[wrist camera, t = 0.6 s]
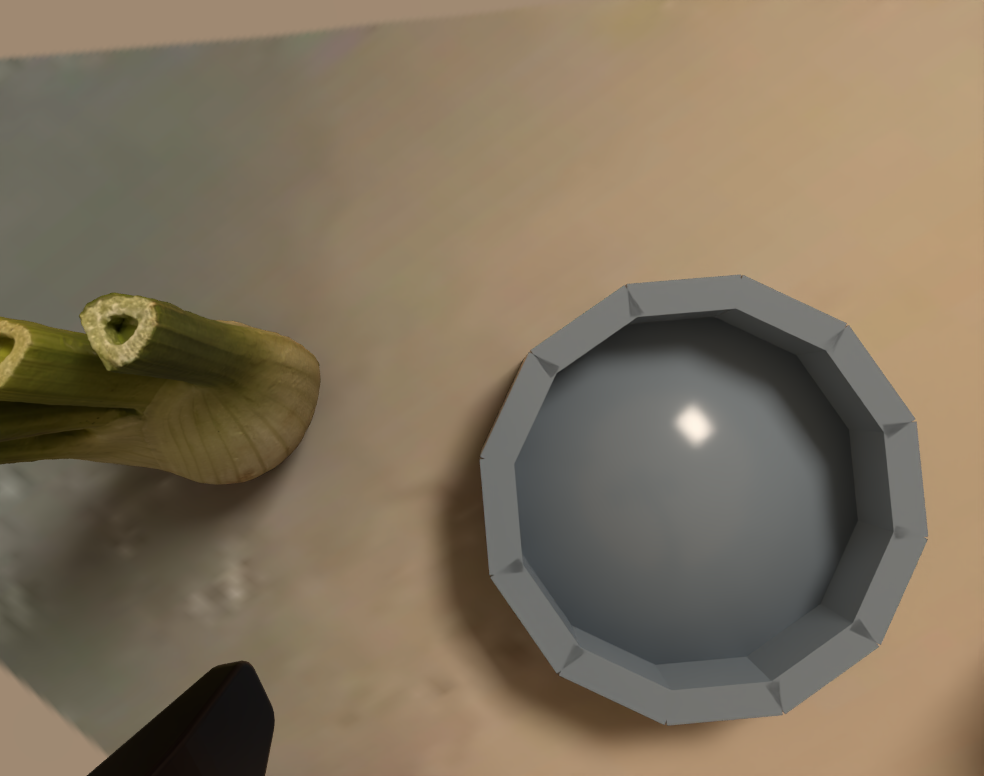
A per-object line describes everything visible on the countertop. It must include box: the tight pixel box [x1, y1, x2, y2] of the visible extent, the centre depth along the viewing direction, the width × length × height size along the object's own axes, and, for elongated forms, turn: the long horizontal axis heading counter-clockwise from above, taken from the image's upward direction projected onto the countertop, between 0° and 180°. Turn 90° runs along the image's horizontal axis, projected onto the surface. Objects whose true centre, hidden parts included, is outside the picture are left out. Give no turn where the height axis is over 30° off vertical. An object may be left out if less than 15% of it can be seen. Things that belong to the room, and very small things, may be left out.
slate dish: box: [480, 275, 928, 726], centre depth 20 cm, size 13×13×3 cm
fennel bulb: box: [0, 293, 320, 485], centre depth 15 cm, size 6×5×12 cm
